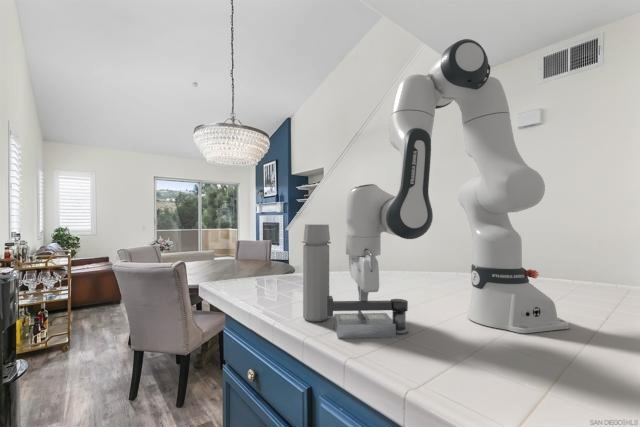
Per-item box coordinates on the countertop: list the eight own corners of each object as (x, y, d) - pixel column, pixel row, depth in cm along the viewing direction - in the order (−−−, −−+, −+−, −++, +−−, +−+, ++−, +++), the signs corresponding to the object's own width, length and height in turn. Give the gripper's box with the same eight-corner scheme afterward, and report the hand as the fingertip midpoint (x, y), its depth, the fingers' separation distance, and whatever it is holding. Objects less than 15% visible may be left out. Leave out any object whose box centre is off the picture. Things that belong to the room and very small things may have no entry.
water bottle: (328, 323, 76) (328, 224, 76) (298, 321, 77) (298, 224, 78) (333, 313, 85) (333, 224, 85) (306, 311, 86) (307, 224, 87)
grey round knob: (405, 327, 73) (405, 308, 73) (411, 334, 69) (411, 314, 69) (387, 327, 73) (387, 309, 73) (392, 334, 69) (392, 314, 69)
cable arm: (404, 311, 73) (404, 294, 73) (410, 316, 69) (410, 298, 69) (326, 312, 72) (326, 295, 72) (328, 317, 68) (328, 299, 68)
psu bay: (386, 325, 75) (386, 309, 75) (395, 337, 67) (395, 320, 67) (334, 325, 74) (334, 310, 74) (337, 338, 66) (337, 321, 66)
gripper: (386, 251, 67) (386, 314, 67) (367, 244, 87) (367, 292, 87) (358, 251, 67) (358, 314, 66) (345, 244, 87) (345, 292, 87)
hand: (363, 302), depth 77 cm, fingers closed
